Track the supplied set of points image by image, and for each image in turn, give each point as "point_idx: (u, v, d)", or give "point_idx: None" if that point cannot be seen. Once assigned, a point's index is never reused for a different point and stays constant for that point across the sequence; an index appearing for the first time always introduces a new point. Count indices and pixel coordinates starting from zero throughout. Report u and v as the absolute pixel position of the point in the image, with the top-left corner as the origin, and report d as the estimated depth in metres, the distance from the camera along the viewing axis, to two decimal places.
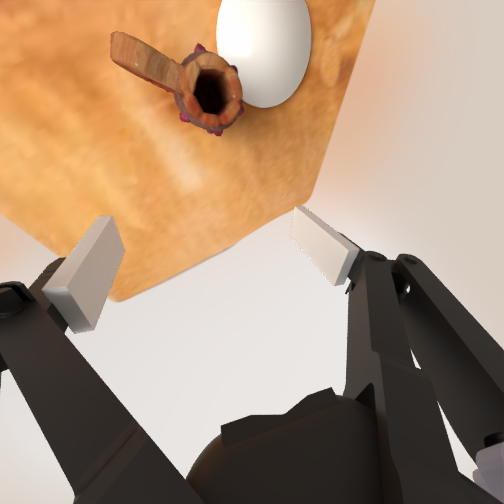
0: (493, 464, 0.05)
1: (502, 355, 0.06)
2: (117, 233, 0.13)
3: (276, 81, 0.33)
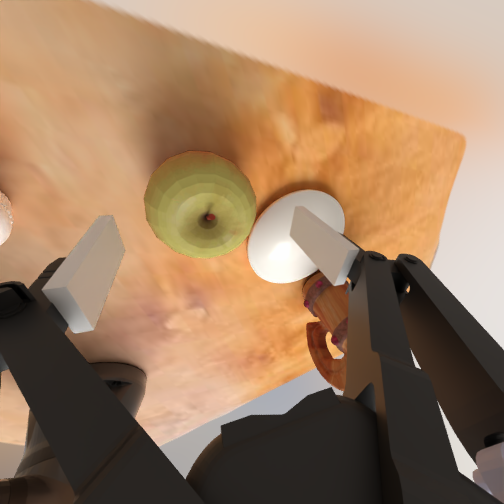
0: (493, 464, 0.05)
1: (501, 355, 0.06)
2: (117, 233, 0.13)
3: None
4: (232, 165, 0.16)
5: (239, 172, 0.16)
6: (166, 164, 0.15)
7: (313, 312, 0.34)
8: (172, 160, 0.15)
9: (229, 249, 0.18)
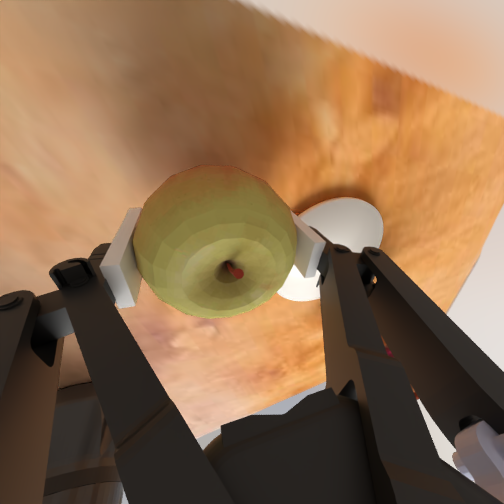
0: (471, 449, 0.05)
1: (463, 338, 0.07)
2: None
3: (360, 241, 0.24)
4: (268, 189, 0.10)
5: (278, 199, 0.11)
6: (167, 190, 0.09)
7: None
8: (176, 184, 0.09)
9: (257, 305, 0.13)
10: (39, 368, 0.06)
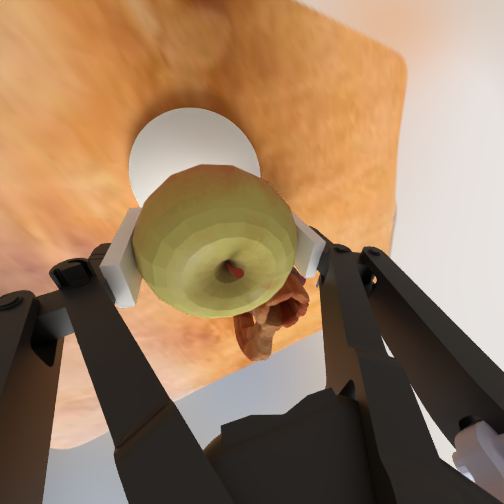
0: (471, 449, 0.05)
1: (463, 338, 0.07)
2: None
3: None
4: (269, 188, 0.10)
5: (278, 198, 0.11)
6: (166, 189, 0.09)
7: None
8: (176, 183, 0.09)
9: (257, 305, 0.13)
10: (39, 368, 0.06)
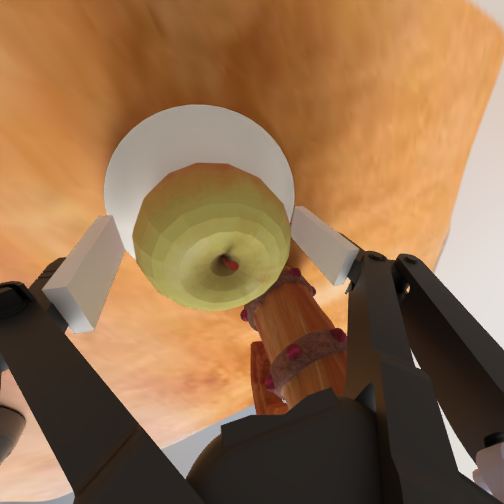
0: (493, 464, 0.05)
1: (501, 355, 0.06)
2: (117, 233, 0.13)
3: None
4: (262, 185, 0.11)
5: (272, 195, 0.11)
6: (164, 186, 0.10)
7: (256, 328, 0.22)
8: (174, 180, 0.10)
9: (252, 299, 0.13)
10: None
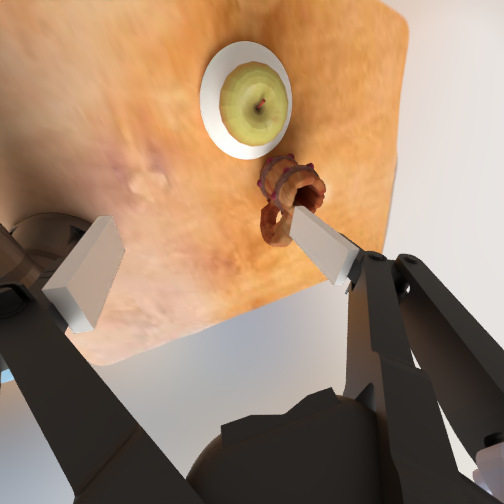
0: (493, 464, 0.05)
1: (501, 355, 0.06)
2: (117, 233, 0.13)
3: None
4: (277, 73, 0.26)
5: (280, 79, 0.26)
6: (239, 65, 0.25)
7: (265, 192, 0.37)
8: (242, 64, 0.25)
9: (268, 135, 0.28)
10: None
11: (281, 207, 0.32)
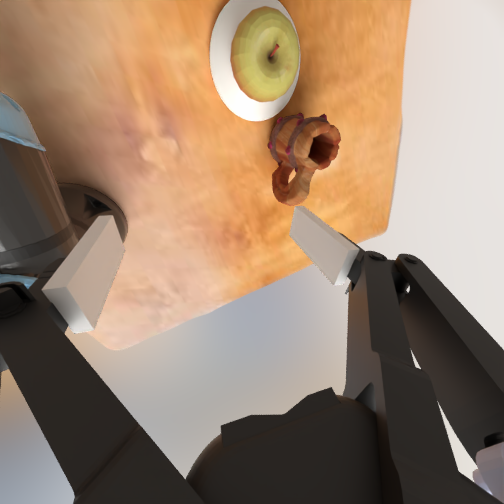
0: (493, 464, 0.05)
1: (502, 355, 0.06)
2: (117, 233, 0.13)
3: None
4: (288, 19, 0.26)
5: None
6: None
7: (276, 154, 0.37)
8: (255, 9, 0.25)
9: (281, 85, 0.28)
10: None
11: (296, 162, 0.32)
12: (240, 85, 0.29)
